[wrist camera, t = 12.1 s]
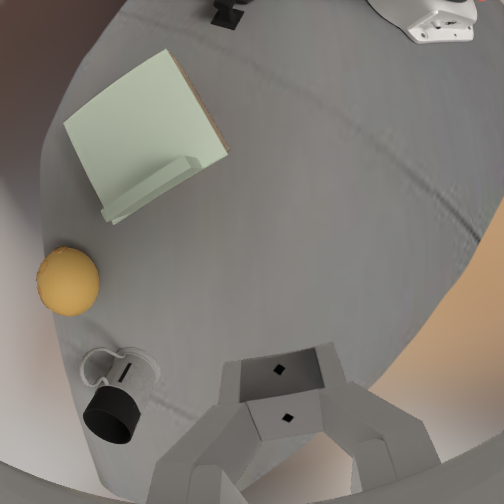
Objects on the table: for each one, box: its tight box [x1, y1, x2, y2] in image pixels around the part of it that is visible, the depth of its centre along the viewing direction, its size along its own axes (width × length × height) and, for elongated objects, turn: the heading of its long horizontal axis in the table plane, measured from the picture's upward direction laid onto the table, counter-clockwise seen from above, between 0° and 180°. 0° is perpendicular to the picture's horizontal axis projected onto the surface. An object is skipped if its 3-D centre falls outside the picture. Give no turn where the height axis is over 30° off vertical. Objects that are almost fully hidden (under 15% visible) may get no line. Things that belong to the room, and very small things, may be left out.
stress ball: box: [36, 246, 100, 316], centre depth 37 cm, size 10×10×10 cm
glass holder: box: [79, 347, 161, 444], centre depth 39 cm, size 9×14×15 cm, turn 13°
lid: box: [63, 49, 228, 225], centre depth 26 cm, size 15×14×7 cm
